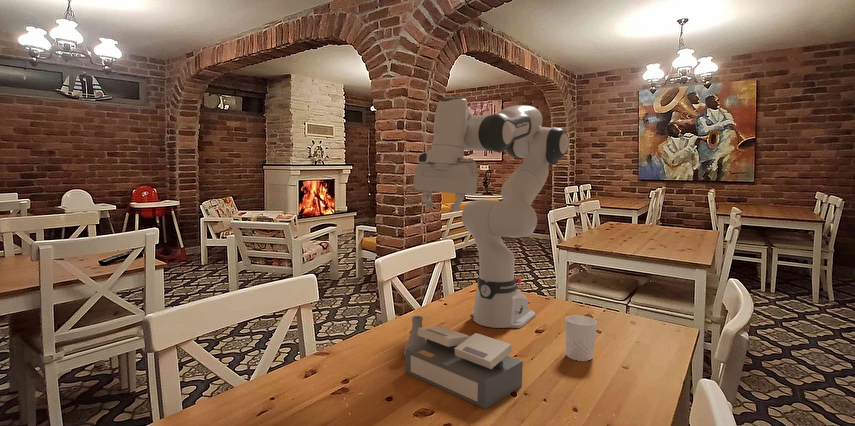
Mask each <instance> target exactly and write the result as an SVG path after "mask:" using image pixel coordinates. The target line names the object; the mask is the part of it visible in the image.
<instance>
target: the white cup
mask: <svg viewBox="0 0 855 426" xmlns="http://www.w3.org/2000/svg"><path fill="white" fill-rule="evenodd" d="M564 319H565V320H564V321H565V353H566V357H568V358H569V359H570V360H573V361H576V360H577V361H578V362H589V361H588V360H590V361H591V359H593V358H594V350H595V346H596V345H595V343H596V336H597V335H596V334H597V327H598V326H597V325H598V324H597V323H598V321H597V320H596V319H595V318H593V317H590V316H587V315H578V314H575V315H574V314H573V315H567V316H565V318H564Z"/></svg>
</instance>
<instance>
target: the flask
mask: <svg viewBox="0 0 855 426" xmlns="http://www.w3.org/2000/svg"><path fill="white" fill-rule="evenodd" d="M423 320H424V316H422V315H413V316H411V322H412V323H411V324H412V325H411V331H410V334H409V336H408V340H407V342H406V344H405V348H404V350H403V353H404V354H403V355H404V357H406V349H407V348H409V347H412V346H414V345H417V344H419V343H422V342H424V341H427V339H426V338H423V337H421V336H418V335H417V334H418V328H423Z"/></svg>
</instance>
